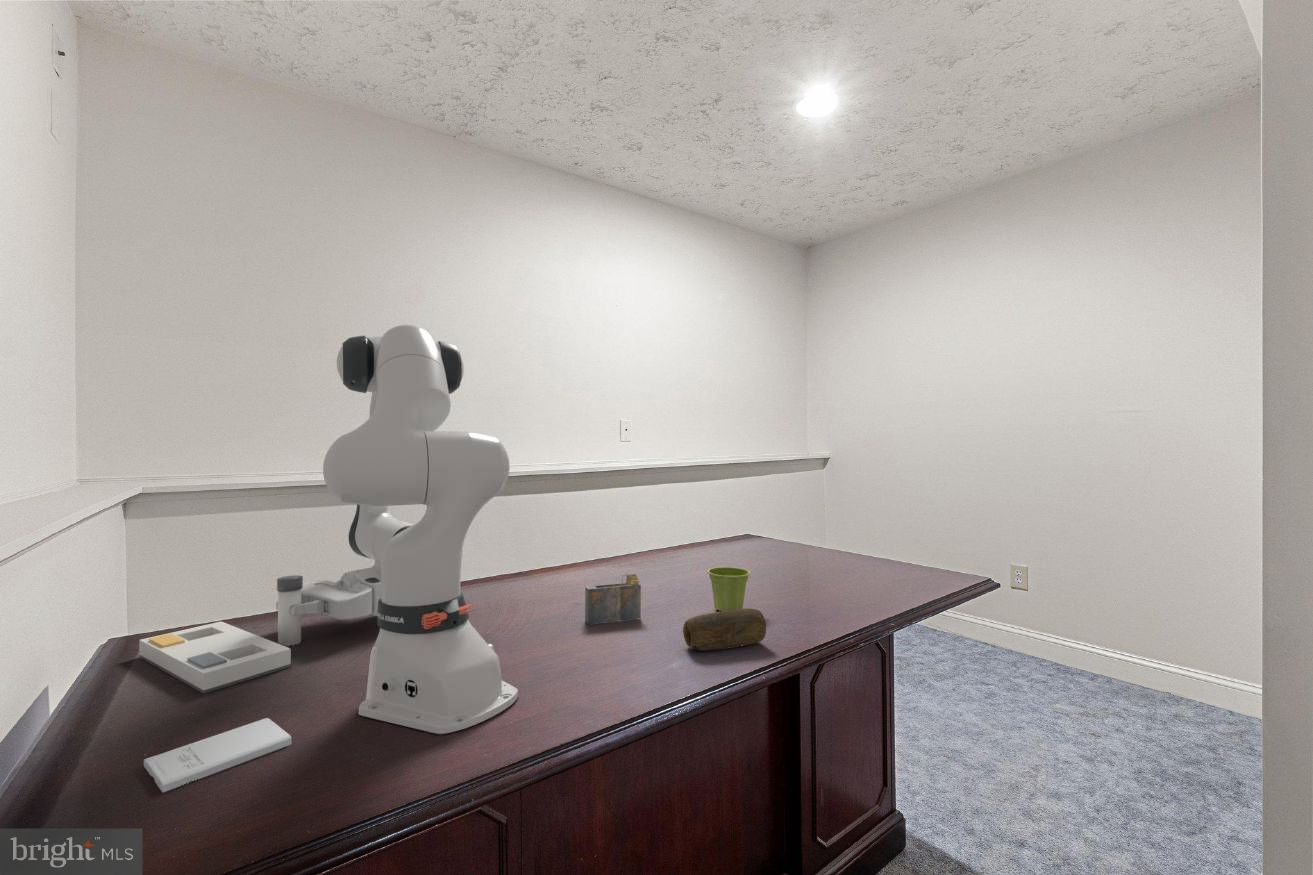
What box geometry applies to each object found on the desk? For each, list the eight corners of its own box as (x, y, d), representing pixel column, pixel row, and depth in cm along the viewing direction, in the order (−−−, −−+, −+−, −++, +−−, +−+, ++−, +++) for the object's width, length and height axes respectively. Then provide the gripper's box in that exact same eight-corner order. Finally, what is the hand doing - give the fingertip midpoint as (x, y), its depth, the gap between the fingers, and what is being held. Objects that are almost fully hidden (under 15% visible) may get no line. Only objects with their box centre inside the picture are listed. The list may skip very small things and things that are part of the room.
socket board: (290, 666, 95) (290, 646, 95) (203, 693, 85) (203, 670, 85) (221, 637, 109) (221, 619, 109) (139, 657, 99) (139, 637, 99)
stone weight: (748, 636, 112) (749, 601, 112) (769, 648, 106) (769, 611, 106) (679, 646, 106) (679, 610, 106) (696, 659, 100) (696, 621, 100)
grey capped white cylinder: (306, 641, 107) (307, 577, 107) (283, 648, 104) (283, 581, 104) (295, 637, 109) (296, 574, 109) (272, 644, 106) (272, 578, 106)
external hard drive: (291, 749, 71) (162, 798, 62) (266, 728, 76) (143, 770, 67) (291, 735, 71) (162, 782, 62) (266, 716, 76) (143, 756, 67)
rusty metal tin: (636, 616, 125) (636, 571, 125) (640, 620, 122) (640, 574, 122) (584, 622, 121) (584, 575, 121) (588, 626, 118) (588, 579, 118)
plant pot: (707, 603, 134) (707, 565, 134) (748, 604, 133) (748, 567, 133) (707, 615, 124) (707, 575, 124) (751, 617, 123) (751, 576, 123)
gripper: (330, 570, 123) (257, 583, 111) (387, 583, 112) (313, 599, 100) (330, 599, 123) (257, 616, 111) (387, 615, 112) (313, 636, 100)
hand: (284, 608), depth 106 cm, fingers closed on grey capped white cylinder, 4 cm apart
